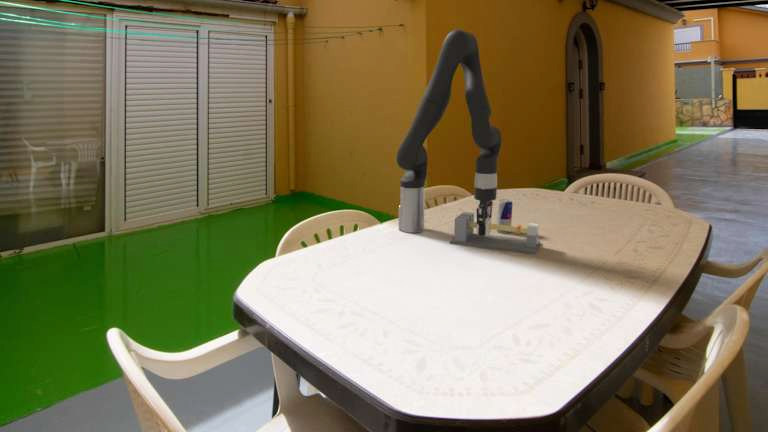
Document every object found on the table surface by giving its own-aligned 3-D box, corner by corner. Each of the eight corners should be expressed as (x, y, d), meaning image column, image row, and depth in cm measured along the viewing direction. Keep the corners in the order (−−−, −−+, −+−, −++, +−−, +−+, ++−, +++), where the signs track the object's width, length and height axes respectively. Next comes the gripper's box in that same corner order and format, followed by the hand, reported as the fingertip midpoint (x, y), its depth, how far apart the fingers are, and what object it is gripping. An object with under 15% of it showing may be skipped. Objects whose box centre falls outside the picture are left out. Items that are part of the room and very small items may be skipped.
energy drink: (511, 233, 171) (513, 202, 168) (496, 233, 172) (498, 202, 169) (510, 229, 176) (512, 199, 173) (496, 229, 177) (497, 199, 174)
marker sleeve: (476, 233, 160) (476, 220, 158) (479, 230, 164) (480, 216, 163) (487, 235, 158) (488, 221, 157) (491, 231, 162) (491, 217, 161)
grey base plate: (449, 243, 161) (449, 240, 161) (459, 234, 172) (459, 231, 171) (535, 253, 149) (535, 251, 149) (540, 243, 159) (540, 240, 159)
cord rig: (454, 240, 161) (454, 218, 159) (462, 232, 170) (463, 211, 168) (534, 250, 149) (535, 226, 147) (538, 240, 159) (540, 218, 157)
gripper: (479, 181, 165) (478, 226, 169) (469, 188, 152) (467, 237, 156) (501, 182, 161) (498, 228, 166) (491, 190, 149) (489, 239, 153)
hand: (483, 232), depth 161 cm, fingers closed on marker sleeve, 5 cm apart
